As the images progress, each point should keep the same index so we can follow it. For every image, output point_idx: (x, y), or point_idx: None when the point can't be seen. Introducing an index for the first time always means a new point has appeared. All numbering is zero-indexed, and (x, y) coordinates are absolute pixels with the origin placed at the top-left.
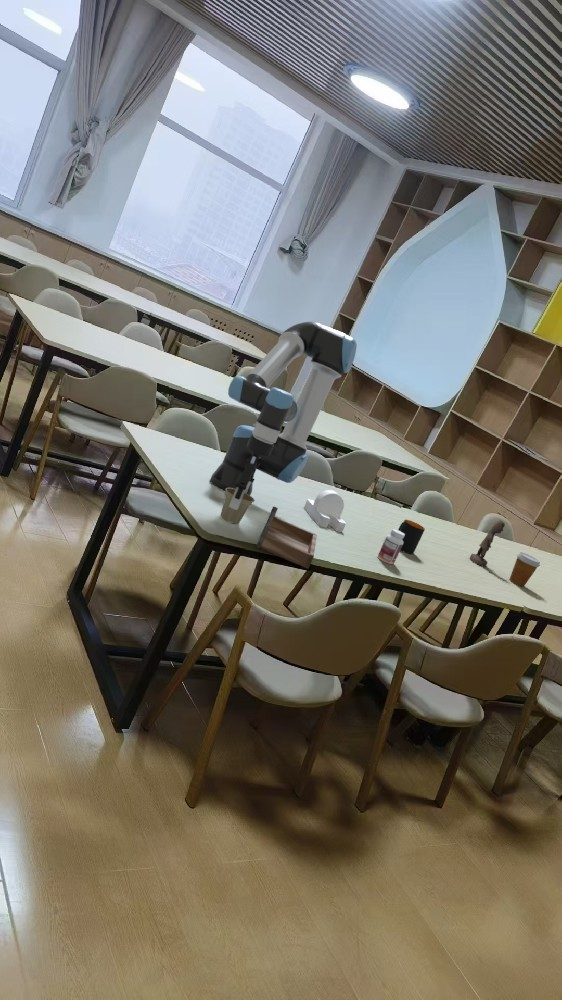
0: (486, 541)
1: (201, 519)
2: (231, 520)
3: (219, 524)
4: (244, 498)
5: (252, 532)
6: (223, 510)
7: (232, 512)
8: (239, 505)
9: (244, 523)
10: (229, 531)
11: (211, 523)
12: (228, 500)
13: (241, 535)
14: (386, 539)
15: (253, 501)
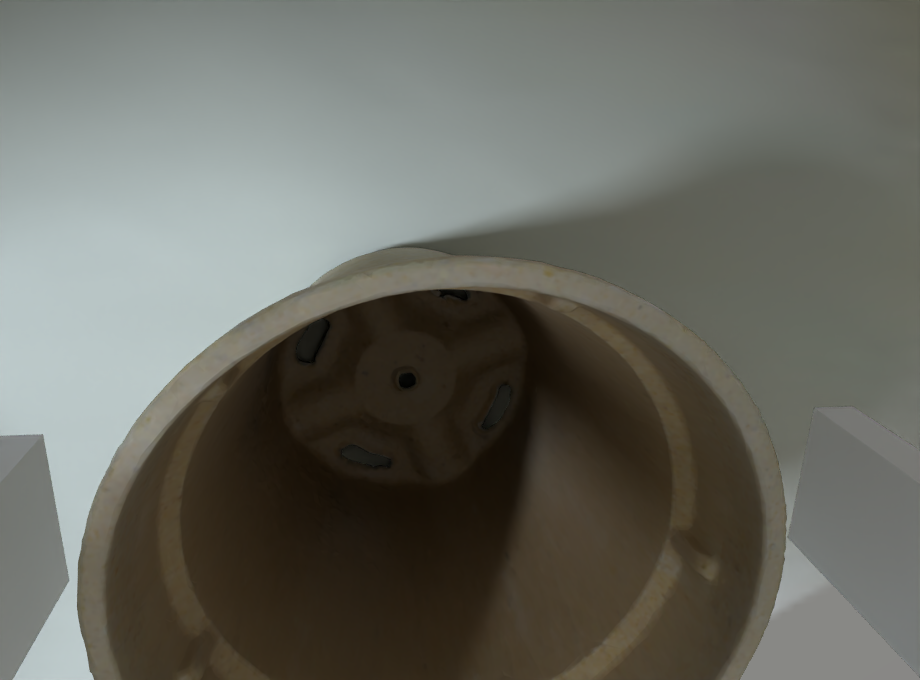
0: None
1: (782, 577)
2: (540, 351)
3: None
4: (167, 465)
5: (543, 18)
6: (506, 518)
7: (586, 421)
8: (662, 435)
9: (276, 180)
10: (846, 291)
11: (794, 486)
12: (604, 616)
13: (838, 145)
14: None
15: (573, 273)
